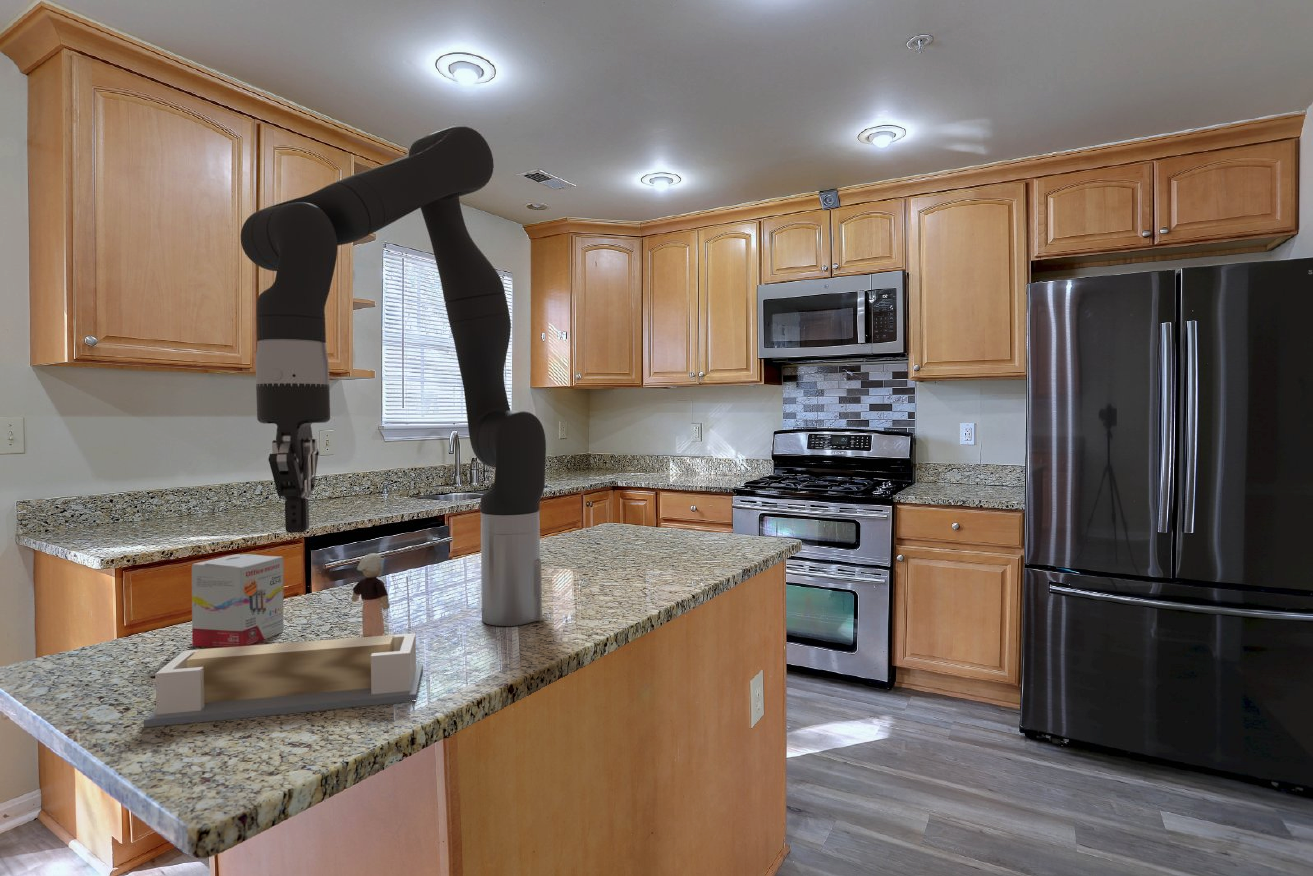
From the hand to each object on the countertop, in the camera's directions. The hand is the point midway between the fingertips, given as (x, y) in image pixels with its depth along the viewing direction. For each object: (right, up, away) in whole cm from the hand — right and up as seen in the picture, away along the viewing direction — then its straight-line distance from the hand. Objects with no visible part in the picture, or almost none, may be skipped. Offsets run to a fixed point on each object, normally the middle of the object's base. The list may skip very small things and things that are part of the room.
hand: (297, 531), depth 82 cm
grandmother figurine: (0, -19, +20) cm, 28 cm away
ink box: (-19, -19, +21) cm, 34 cm away
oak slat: (0, -18, 0) cm, 18 cm away
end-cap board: (0, -19, 0) cm, 19 cm away
